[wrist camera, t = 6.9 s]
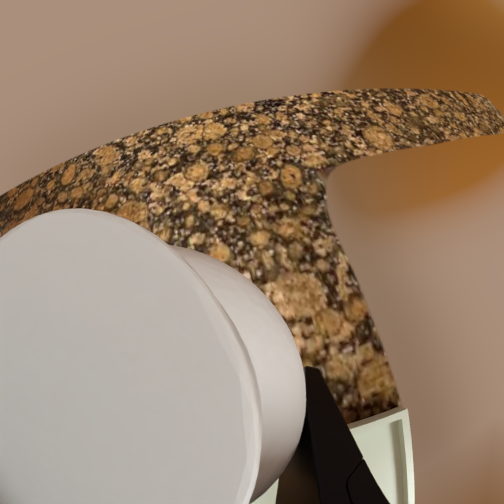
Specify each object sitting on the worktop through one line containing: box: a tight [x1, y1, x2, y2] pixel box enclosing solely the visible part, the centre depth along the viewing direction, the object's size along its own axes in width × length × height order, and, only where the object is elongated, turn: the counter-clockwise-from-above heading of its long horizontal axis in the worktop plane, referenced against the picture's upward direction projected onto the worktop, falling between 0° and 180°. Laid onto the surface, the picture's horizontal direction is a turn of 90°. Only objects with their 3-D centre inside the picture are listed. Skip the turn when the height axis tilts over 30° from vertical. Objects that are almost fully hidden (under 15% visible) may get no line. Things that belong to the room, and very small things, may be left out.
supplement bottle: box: [0, 208, 306, 504], centre depth 8 cm, size 7×7×13 cm
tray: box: [251, 407, 415, 504], centre depth 15 cm, size 13×13×2 cm
